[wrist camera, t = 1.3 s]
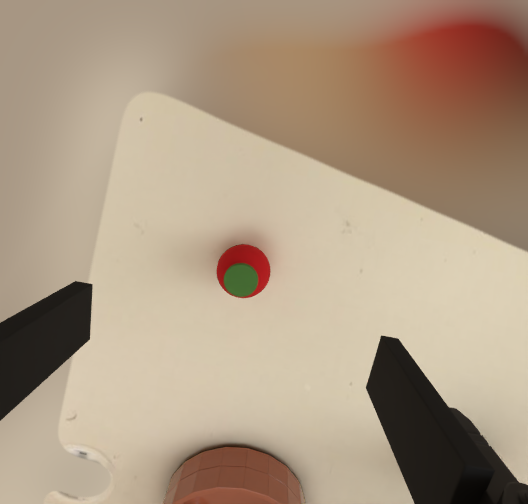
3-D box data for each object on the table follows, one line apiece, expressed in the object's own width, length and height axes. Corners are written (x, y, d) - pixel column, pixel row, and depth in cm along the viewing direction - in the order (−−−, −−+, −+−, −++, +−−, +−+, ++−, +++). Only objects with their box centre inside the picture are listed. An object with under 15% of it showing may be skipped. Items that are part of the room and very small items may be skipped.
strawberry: (212, 255, 29) (199, 273, 24) (252, 228, 29) (247, 241, 24) (240, 293, 30) (234, 318, 25) (280, 267, 30) (281, 288, 24)
